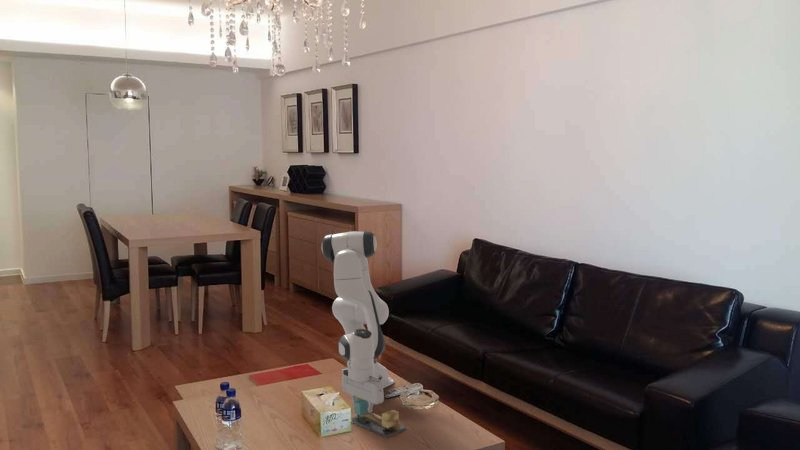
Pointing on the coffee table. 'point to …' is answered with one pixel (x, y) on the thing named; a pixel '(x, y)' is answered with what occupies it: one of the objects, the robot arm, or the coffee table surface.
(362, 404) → the block
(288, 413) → the coffee table surface
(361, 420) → the steel plate
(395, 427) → the wooden mallet
